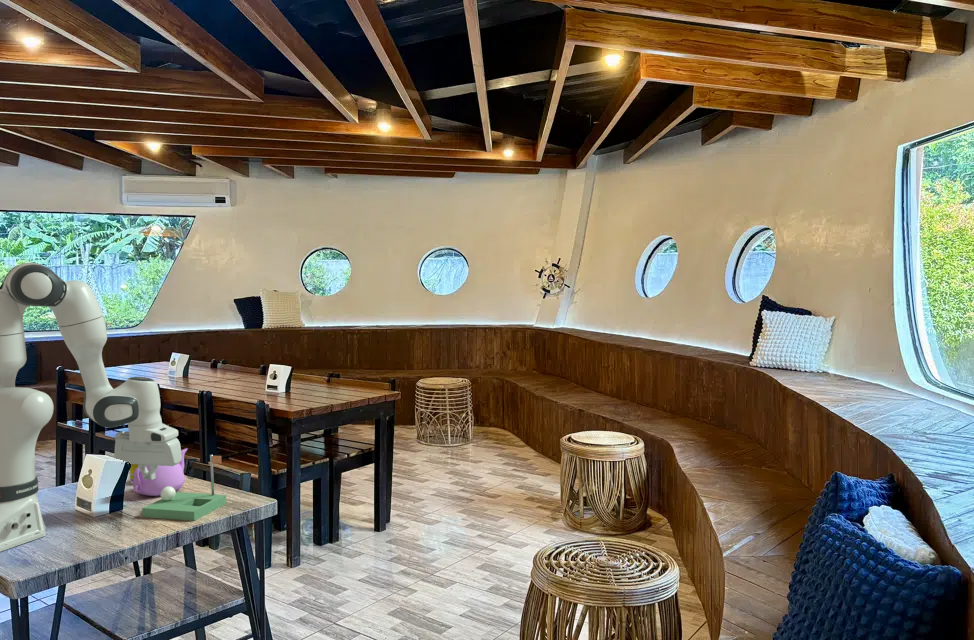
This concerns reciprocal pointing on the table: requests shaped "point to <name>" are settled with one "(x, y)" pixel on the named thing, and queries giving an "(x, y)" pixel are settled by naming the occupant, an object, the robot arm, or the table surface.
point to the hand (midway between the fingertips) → (149, 478)
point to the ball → (168, 493)
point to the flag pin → (212, 460)
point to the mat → (184, 506)
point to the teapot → (160, 479)
